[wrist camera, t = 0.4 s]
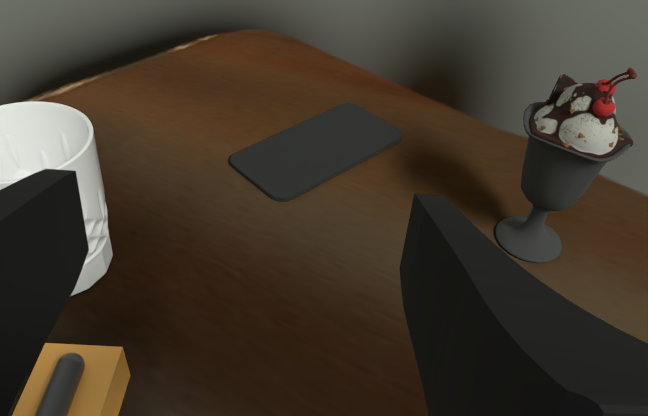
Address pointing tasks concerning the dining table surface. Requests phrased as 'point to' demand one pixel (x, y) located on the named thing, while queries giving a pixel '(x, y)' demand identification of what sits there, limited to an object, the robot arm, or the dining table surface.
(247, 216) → the dining table surface
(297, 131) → the phone
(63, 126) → the white cup
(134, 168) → the dining table surface
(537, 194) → the sundae
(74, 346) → the cable arm
